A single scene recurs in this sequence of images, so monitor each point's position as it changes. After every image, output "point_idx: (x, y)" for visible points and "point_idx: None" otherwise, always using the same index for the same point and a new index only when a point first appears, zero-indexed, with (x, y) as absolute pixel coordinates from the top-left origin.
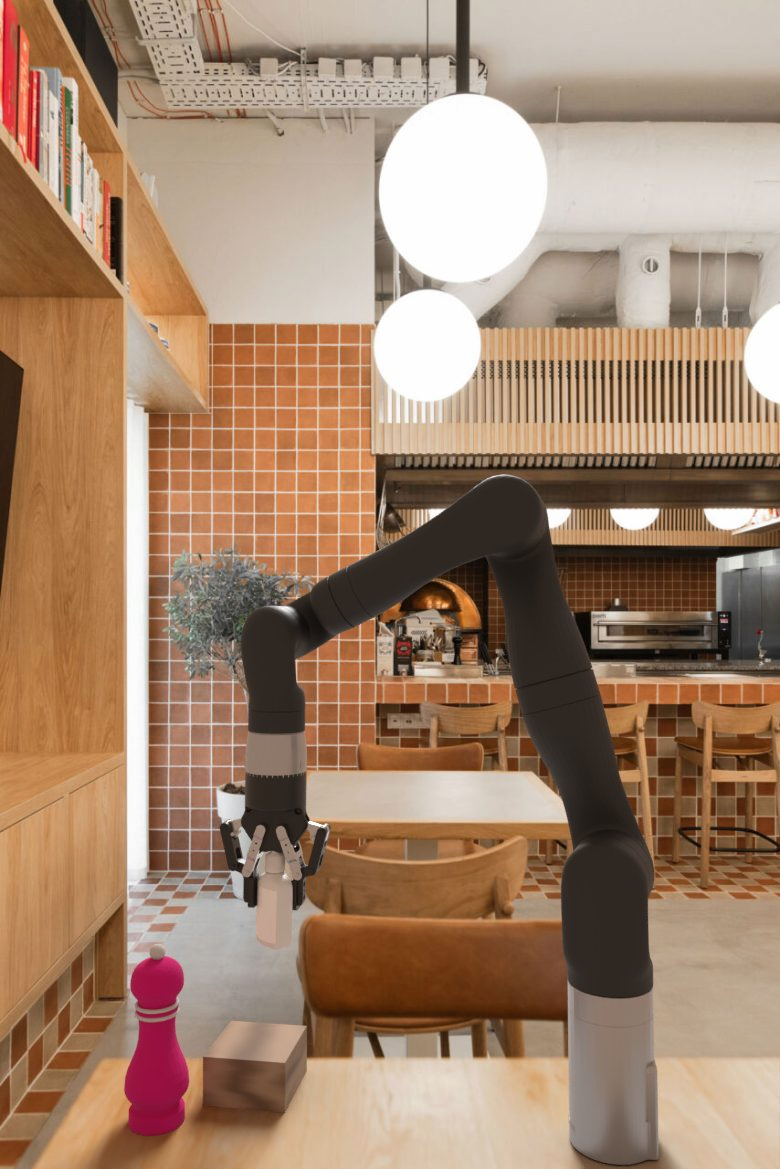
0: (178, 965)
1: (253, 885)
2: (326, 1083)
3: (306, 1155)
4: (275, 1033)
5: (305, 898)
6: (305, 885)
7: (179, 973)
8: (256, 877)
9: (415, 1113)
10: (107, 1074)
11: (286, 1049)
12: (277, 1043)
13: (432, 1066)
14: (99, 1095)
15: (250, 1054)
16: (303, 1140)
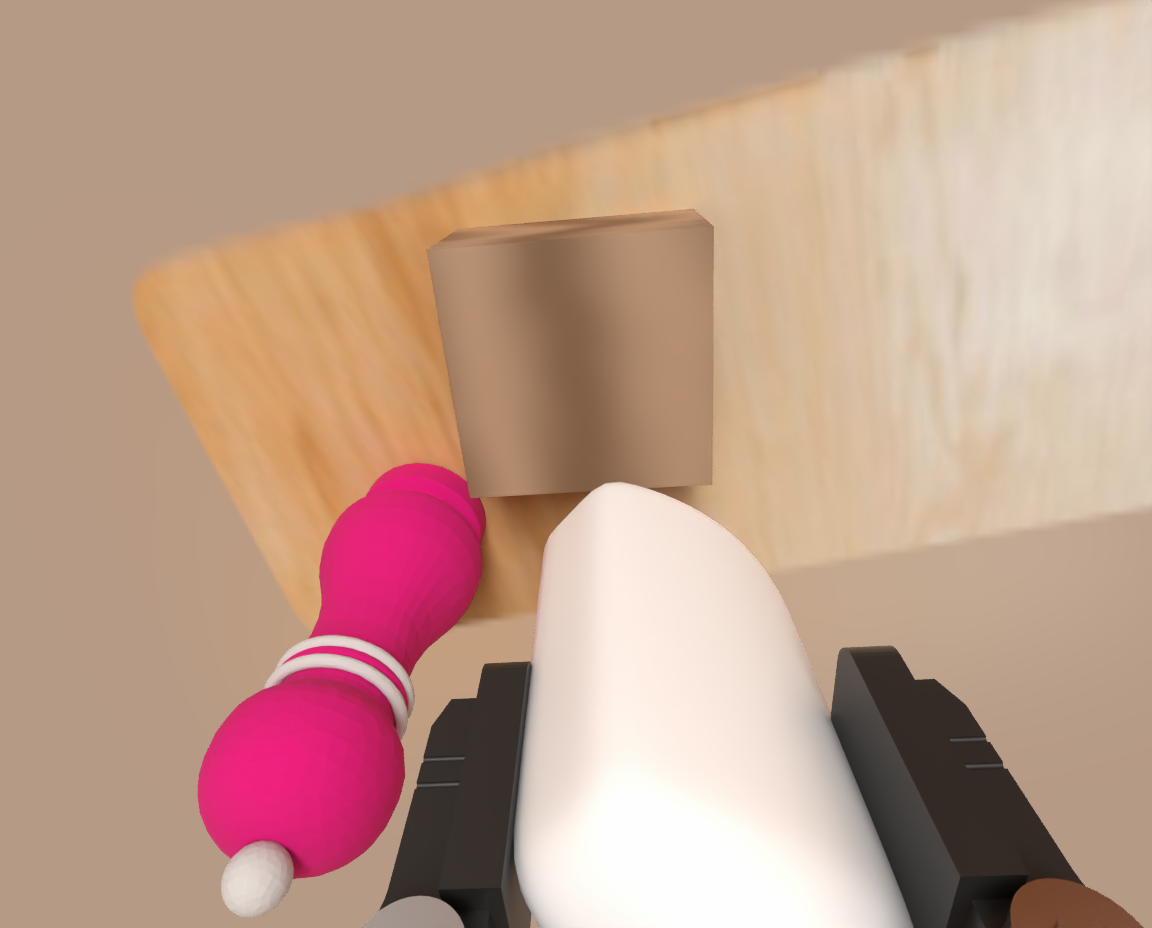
0: (357, 809)
1: (529, 916)
2: (767, 261)
3: (783, 558)
4: (621, 312)
5: (965, 710)
6: (1031, 818)
7: (383, 806)
8: (515, 920)
9: (1027, 359)
10: (167, 352)
11: (692, 408)
12: (651, 377)
13: (1109, 61)
14: (229, 446)
15: (596, 460)
16: (765, 515)
